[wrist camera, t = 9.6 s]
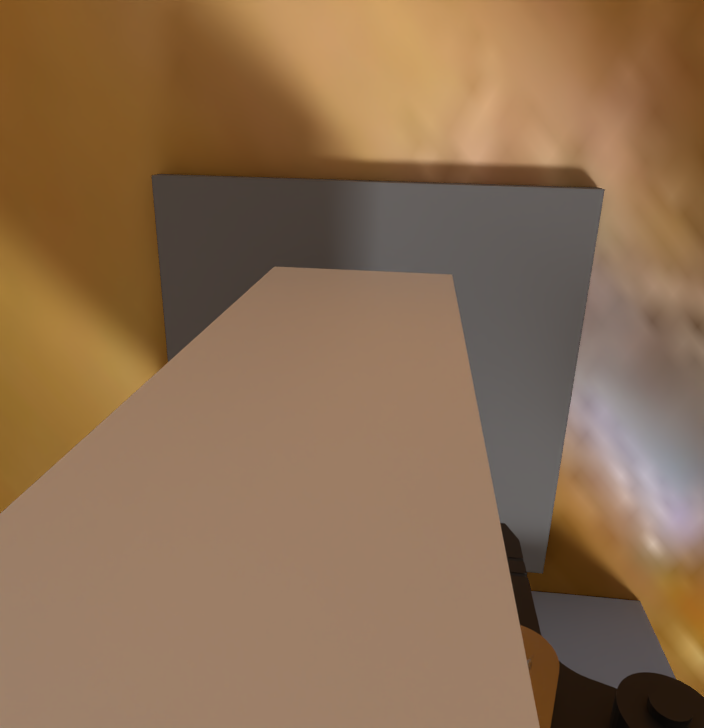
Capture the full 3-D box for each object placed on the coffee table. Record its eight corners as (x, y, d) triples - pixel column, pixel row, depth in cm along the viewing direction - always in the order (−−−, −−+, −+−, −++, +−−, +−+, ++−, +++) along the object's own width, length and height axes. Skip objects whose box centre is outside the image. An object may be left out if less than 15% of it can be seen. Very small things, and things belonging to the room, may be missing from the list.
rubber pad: (539, 562, 22) (543, 573, 22) (189, 531, 23) (183, 541, 23) (598, 187, 18) (604, 189, 17) (159, 174, 19) (151, 175, 18)
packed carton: (451, 274, 15) (554, 810, 3) (428, 569, 19) (435, 1394, 6) (274, 266, 16) (-221, 712, 4) (281, 556, 19) (29, 1305, 7)
